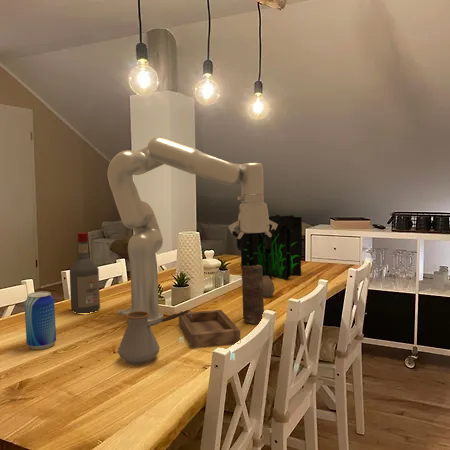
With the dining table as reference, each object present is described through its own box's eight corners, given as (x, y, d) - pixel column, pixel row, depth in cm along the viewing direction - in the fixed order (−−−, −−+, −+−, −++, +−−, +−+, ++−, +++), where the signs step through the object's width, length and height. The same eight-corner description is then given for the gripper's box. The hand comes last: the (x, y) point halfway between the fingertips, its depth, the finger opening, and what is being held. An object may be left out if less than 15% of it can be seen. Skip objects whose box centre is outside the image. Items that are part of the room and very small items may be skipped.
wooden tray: (191, 348, 144) (191, 334, 143) (178, 324, 167) (178, 313, 167) (240, 343, 148) (240, 330, 147) (221, 320, 171) (221, 309, 170)
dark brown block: (239, 323, 168) (238, 266, 166) (246, 317, 174) (246, 262, 172) (260, 325, 165) (260, 267, 163) (266, 319, 171) (266, 263, 169)
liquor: (102, 310, 185) (99, 232, 182) (81, 316, 179) (78, 235, 176) (89, 306, 192) (86, 231, 189) (68, 311, 185) (65, 233, 182)
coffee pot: (110, 365, 131) (108, 311, 130) (129, 350, 143) (127, 300, 141) (185, 372, 126) (184, 316, 125) (198, 356, 137) (197, 304, 136)
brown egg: (273, 299, 200) (273, 278, 199) (256, 298, 202) (256, 277, 201) (275, 295, 207) (275, 274, 206) (259, 294, 208) (259, 274, 207)
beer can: (38, 352, 142) (36, 298, 140) (20, 347, 146) (18, 295, 145) (62, 344, 149) (59, 292, 147) (44, 339, 153) (41, 289, 152)
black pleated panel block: (308, 273, 253) (309, 215, 250) (283, 284, 228) (283, 220, 225) (260, 268, 268) (259, 213, 265) (231, 277, 243) (231, 218, 240)
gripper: (231, 200, 159) (232, 252, 161) (280, 198, 164) (281, 249, 165) (225, 199, 167) (226, 249, 168) (272, 198, 171) (273, 246, 173)
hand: (253, 249), depth 167 cm, fingers open, 9 cm apart
